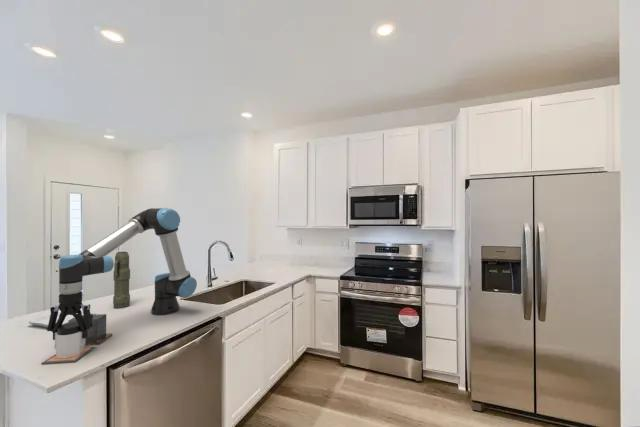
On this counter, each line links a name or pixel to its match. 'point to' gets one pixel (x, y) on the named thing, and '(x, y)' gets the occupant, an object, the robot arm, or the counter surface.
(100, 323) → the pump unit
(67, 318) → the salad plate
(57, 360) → the mat
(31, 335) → the counter surface
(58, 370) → the counter surface
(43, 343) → the counter surface
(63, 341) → the jar
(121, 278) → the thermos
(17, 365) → the counter surface
